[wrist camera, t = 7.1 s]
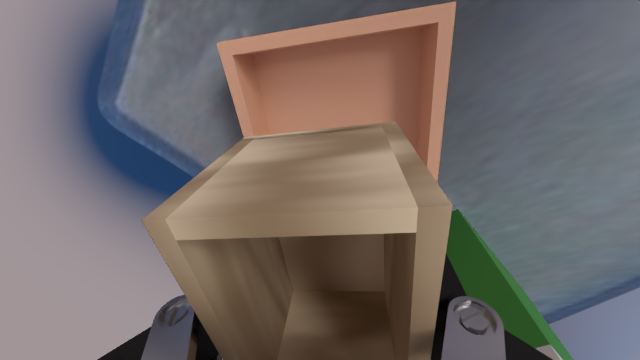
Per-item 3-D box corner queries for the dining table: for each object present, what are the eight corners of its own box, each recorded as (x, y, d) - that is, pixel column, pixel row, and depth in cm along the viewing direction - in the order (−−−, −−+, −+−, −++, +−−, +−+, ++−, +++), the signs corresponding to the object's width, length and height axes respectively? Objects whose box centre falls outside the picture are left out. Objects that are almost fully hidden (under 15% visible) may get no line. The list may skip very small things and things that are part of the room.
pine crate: (395, 121, 10) (452, 205, 4) (393, 289, 14) (420, 429, 9) (244, 136, 11) (140, 220, 5) (287, 289, 15) (255, 415, 10)
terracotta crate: (433, 12, 20) (456, 1, 15) (419, 202, 29) (432, 230, 24) (241, 43, 23) (216, 42, 18) (283, 209, 31) (272, 235, 27)
